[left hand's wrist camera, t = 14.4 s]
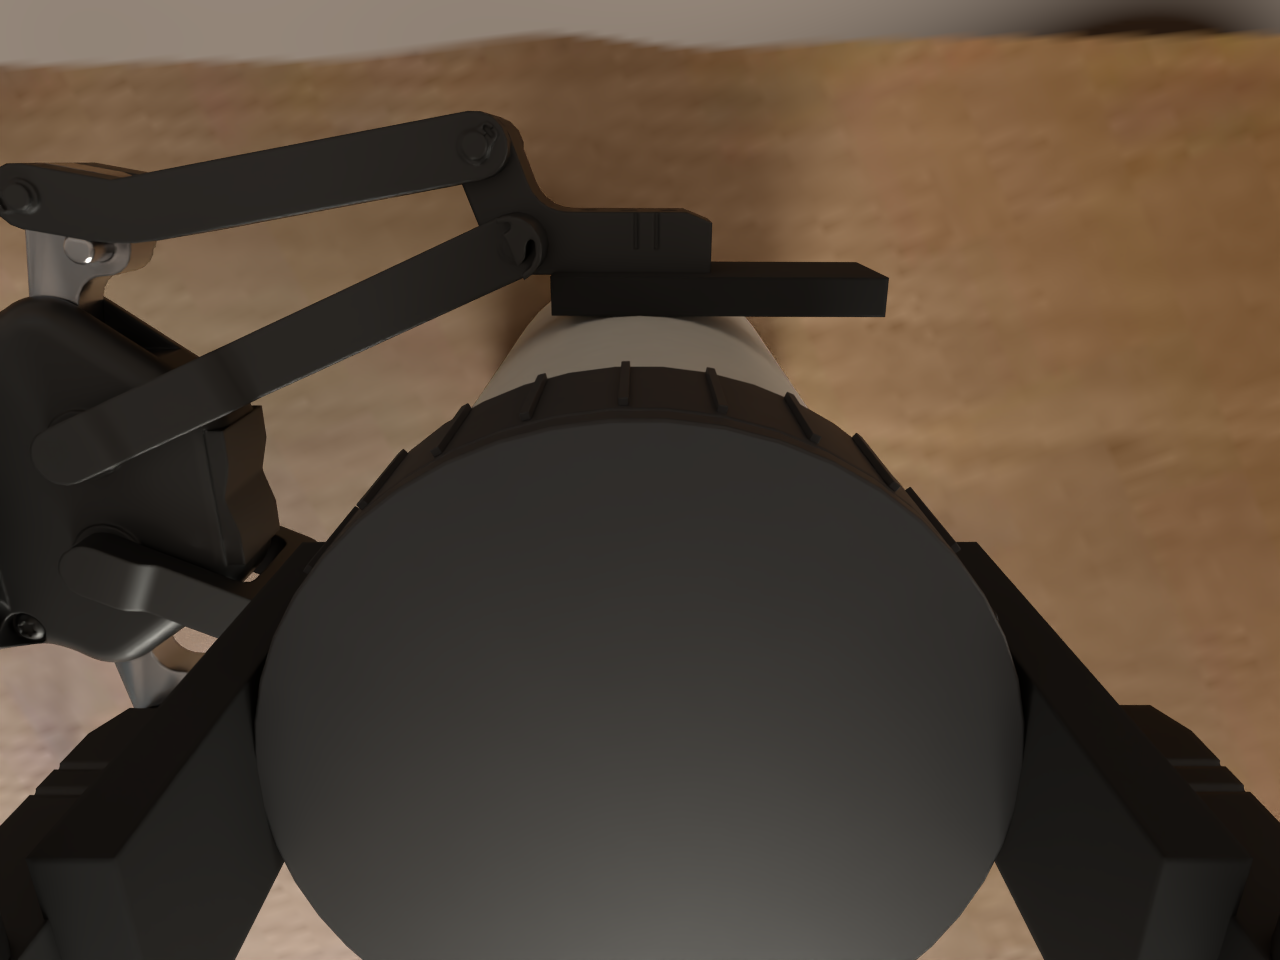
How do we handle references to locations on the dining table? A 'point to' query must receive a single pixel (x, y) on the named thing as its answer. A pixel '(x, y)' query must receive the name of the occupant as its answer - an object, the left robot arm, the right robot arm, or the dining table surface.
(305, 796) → the lid
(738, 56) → the dining table surface
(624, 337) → the jar
